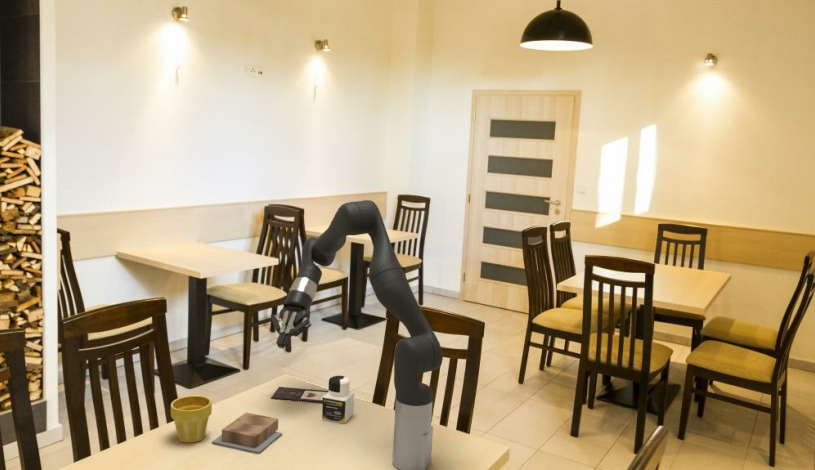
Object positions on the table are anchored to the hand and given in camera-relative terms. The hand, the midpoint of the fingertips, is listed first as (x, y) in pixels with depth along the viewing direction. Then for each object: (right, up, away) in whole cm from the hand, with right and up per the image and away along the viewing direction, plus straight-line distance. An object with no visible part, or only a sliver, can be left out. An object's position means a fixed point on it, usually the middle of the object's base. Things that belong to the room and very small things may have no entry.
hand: (280, 346), depth 192 cm
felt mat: (-6, -23, -13) cm, 27 cm away
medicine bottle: (+16, -21, +4) cm, 27 cm away
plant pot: (-21, -22, -13) cm, 33 cm away
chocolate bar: (+4, -19, +18) cm, 27 cm away
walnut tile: (-4, -19, -6) cm, 21 cm away
